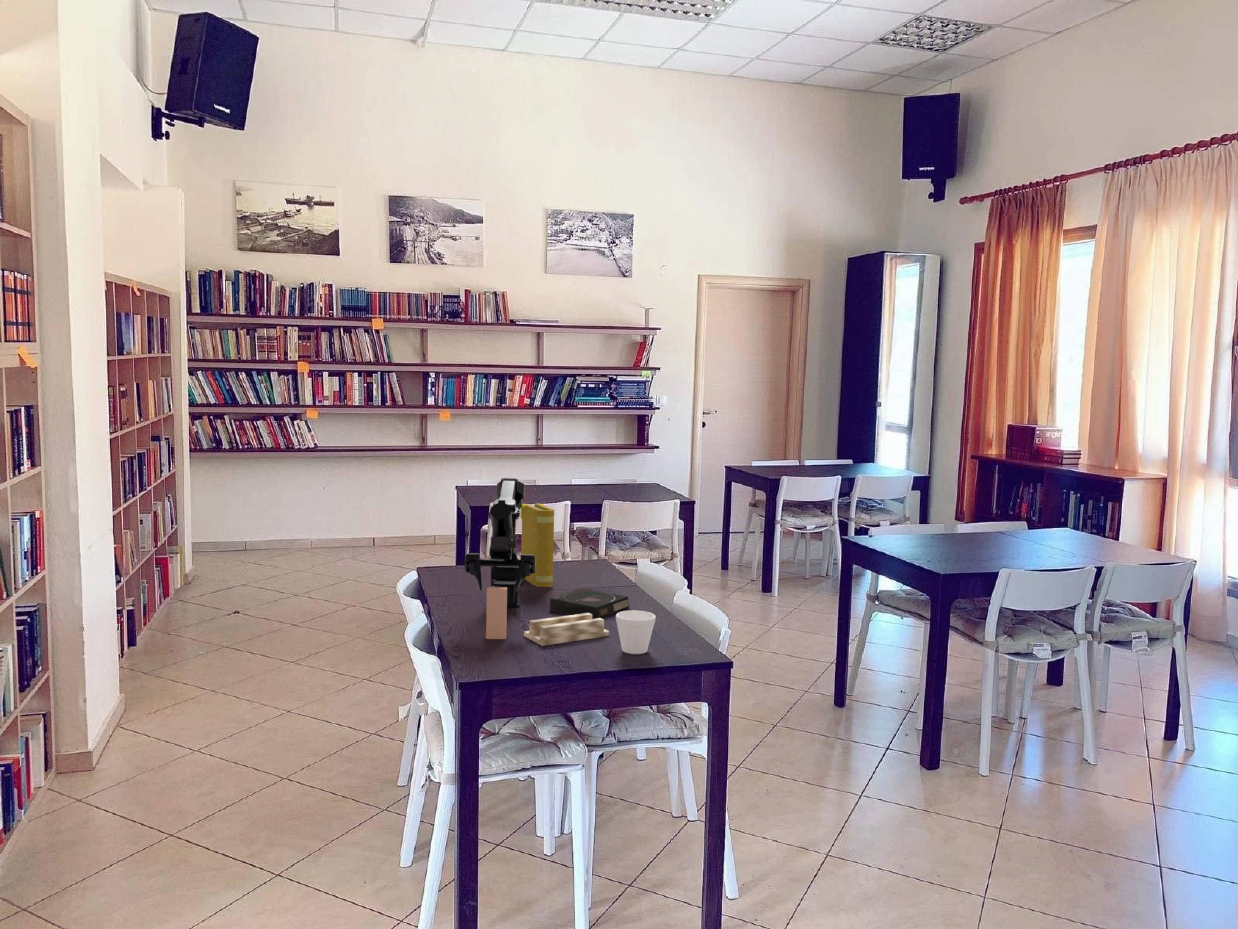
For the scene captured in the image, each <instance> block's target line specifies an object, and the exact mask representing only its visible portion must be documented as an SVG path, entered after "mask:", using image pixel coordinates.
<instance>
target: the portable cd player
mask: <svg viewBox="0 0 1238 929" xmlns="http://www.w3.org/2000/svg"><path fill="white" fill-rule="evenodd" d="M630 605H631V604H630V599H629V596H628V595H627V596H626V595H622V594H616V593H611V592H610V593H609V592H604V591H600V590H593V589H588V588H584V587H583V588H580V589H576V590H573V591H569V592H566V593H563V594H560V595H557V596H553V597H550V598H549V610H550V609H551V610H555V611H554V612H556V611H559V612H558V613H561V612H563V613H562V614H566V613H570V614H569V615H571V614H574V615H576V614H583V613H590V614H592V618H593V619H596V618H602V619H603V617H604V618H606V617H609V616H612V615H615V614H617V613H619V611H620V612H622V611H621V610H623V611H625V610H624V609H626V610H628V609H629V608H630ZM551 610H550V611H551ZM614 613H615V614H614ZM611 614H612V615H611ZM605 616H606V617H605Z"/></svg>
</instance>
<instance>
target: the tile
mask: <svg viewBox="0 0 1238 929" xmlns="http://www.w3.org/2000/svg"><path fill="white" fill-rule="evenodd" d="M507 611H508V608H507V587H494V586H488V587H487V588H486V617H485V618H486V621H485V622H486V624H485V626H486V627H485V630H486V631H485V639H486V640H506V639H507V623H508V622H507V615H508V613H507Z"/></svg>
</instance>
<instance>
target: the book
mask: <svg viewBox="0 0 1238 929" xmlns="http://www.w3.org/2000/svg"><path fill="white" fill-rule="evenodd" d="M520 519H521V548H520V549H521V553H520V555H521V554H533V555H534V556H535V573H534V574H530V576H526V577H525V580H527V581H528V582H530V583H531V584H530V583H529V584H530V585H532V584H533V585H535V586H538V587H549V586H552V585H553V581H554V579H553V577H554V575H553V574H554V543H555V542H554V541H555V540H554V539H555V535H554V534H555V508H552V507H548V506H546V505H544V504H543V503H534V506H533V505H531V504H528V503H522V507H521V508H520ZM525 580H524V581H525ZM527 581H526V582H527ZM528 582H527V583H528ZM533 585H532V586H533ZM535 586H534V587H535ZM552 587H553V586H552Z"/></svg>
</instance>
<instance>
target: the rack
mask: <svg viewBox="0 0 1238 929" xmlns="http://www.w3.org/2000/svg"><path fill="white" fill-rule="evenodd" d="M528 622H529V625H528V628H529V629H528V630H526V631H523V637H525V638H527V639H529V640H531V641H533V643H534V642H535V643H536V644H538V645H540V646H542V647H543V646H549V645H550V646H551V645H556V644H564V643H570V642H575V641H577V642H578V641H583V640H584V641H585V640H589V639H596V638H603V637H608V636H609V637H610V630H608V629H605V619H603V618H596V619H592V614H590V613H583V614H576V615H571V614H567V615H562V616H554V617H547V618H540V619H533V620H532V619H531V620H529V621H528Z"/></svg>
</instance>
